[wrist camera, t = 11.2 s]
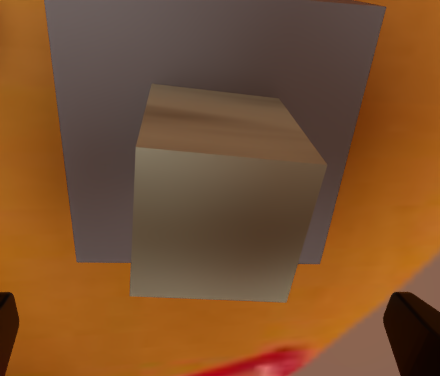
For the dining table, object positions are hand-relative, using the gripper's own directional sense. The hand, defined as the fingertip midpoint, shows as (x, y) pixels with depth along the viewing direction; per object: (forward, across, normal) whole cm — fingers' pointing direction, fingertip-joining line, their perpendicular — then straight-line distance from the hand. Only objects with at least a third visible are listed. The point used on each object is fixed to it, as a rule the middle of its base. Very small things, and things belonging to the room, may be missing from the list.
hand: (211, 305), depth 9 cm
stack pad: (+12, 0, 0) cm, 12 cm away
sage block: (+8, 0, 0) cm, 8 cm away
